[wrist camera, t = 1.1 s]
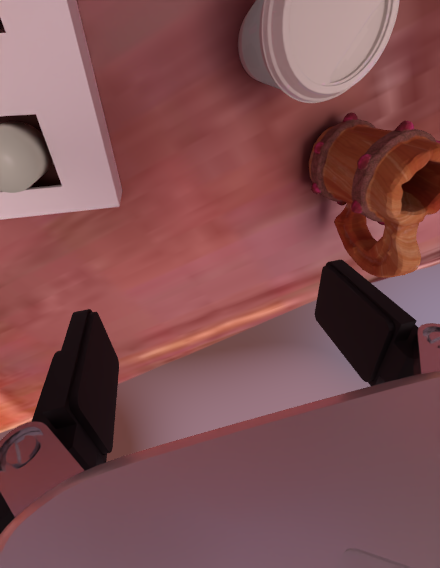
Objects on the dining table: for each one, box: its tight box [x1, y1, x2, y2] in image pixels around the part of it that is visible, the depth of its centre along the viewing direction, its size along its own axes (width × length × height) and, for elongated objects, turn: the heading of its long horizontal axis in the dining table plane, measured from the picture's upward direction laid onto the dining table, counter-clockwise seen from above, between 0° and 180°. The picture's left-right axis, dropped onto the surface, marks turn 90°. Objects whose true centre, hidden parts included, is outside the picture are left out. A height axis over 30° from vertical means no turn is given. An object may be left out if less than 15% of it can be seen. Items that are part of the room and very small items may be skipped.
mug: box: [309, 113, 440, 277], centre depth 29 cm, size 15×8×15 cm, turn 8°
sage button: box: [0, 121, 53, 193], centre depth 22 cm, size 4×4×5 cm
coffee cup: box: [238, 0, 399, 103], centre depth 21 cm, size 8×8×12 cm
